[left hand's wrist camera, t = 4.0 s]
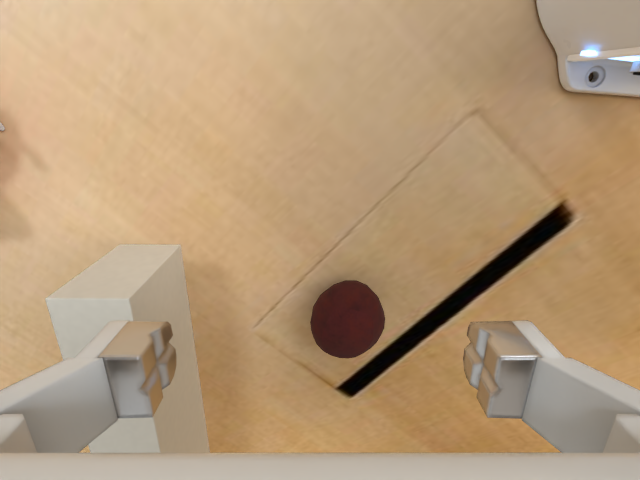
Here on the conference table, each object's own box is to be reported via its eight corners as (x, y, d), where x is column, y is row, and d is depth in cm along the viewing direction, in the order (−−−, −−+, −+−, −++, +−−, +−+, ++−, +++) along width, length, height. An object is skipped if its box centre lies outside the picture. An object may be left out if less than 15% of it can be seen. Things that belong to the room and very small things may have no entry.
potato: (304, 323, 42) (301, 365, 35) (321, 261, 39) (321, 295, 33) (368, 336, 43) (376, 380, 36) (388, 277, 40) (402, 312, 33)
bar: (119, 243, 30) (44, 298, 22) (180, 244, 30) (128, 298, 22) (168, 485, 40) (129, 585, 32) (215, 486, 40) (187, 585, 32)
